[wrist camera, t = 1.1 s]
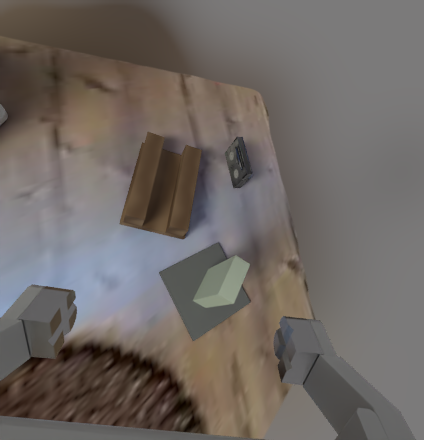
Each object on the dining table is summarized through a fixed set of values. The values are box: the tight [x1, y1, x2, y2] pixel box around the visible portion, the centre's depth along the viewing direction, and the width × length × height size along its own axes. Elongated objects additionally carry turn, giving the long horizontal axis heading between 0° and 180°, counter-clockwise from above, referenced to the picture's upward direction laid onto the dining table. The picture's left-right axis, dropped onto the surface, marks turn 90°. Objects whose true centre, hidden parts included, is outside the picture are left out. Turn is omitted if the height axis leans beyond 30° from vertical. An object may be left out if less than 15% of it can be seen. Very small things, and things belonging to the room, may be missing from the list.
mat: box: [159, 243, 250, 341], centre depth 47 cm, size 12×12×1 cm
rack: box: [120, 132, 202, 239], centre depth 48 cm, size 11×16×5 cm
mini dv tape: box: [225, 137, 253, 188], centre depth 55 cm, size 8×2×6 cm, turn 12°
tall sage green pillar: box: [193, 255, 250, 308], centre depth 42 cm, size 2×6×11 cm, turn 153°
